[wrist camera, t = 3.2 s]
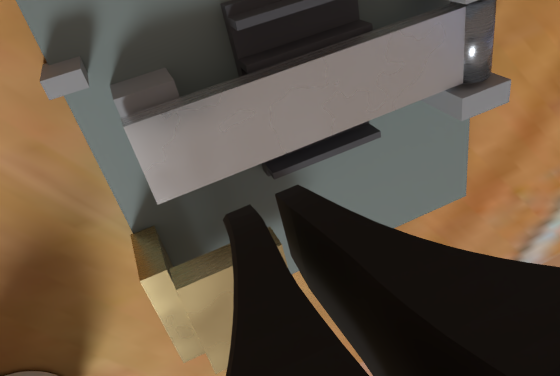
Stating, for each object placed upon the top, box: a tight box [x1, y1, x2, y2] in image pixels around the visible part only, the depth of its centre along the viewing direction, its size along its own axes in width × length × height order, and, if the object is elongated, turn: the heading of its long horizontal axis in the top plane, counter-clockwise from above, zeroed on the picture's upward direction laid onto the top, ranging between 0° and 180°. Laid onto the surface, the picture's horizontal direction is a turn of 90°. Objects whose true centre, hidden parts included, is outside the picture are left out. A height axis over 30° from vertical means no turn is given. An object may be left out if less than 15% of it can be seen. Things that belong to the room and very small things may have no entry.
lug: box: [131, 226, 288, 374], centre depth 19 cm, size 5×5×4 cm
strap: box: [121, 0, 496, 204], centre depth 16 cm, size 14×3×2 cm, turn 101°
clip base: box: [16, 0, 511, 274], centre depth 18 cm, size 17×18×4 cm
